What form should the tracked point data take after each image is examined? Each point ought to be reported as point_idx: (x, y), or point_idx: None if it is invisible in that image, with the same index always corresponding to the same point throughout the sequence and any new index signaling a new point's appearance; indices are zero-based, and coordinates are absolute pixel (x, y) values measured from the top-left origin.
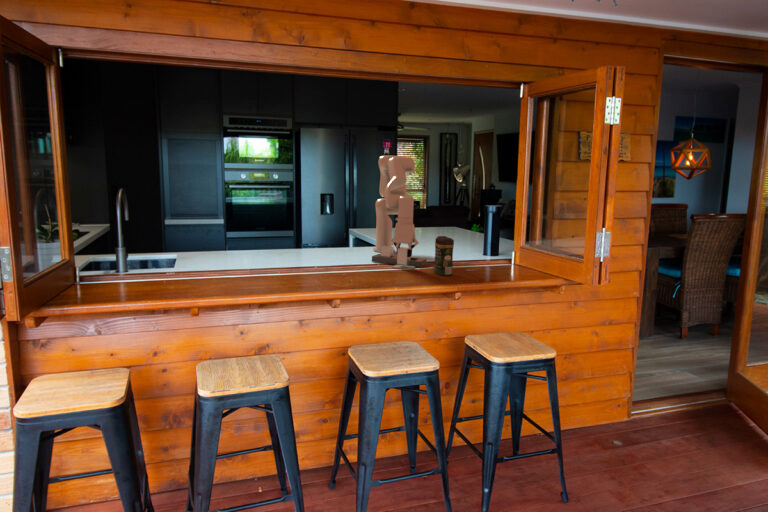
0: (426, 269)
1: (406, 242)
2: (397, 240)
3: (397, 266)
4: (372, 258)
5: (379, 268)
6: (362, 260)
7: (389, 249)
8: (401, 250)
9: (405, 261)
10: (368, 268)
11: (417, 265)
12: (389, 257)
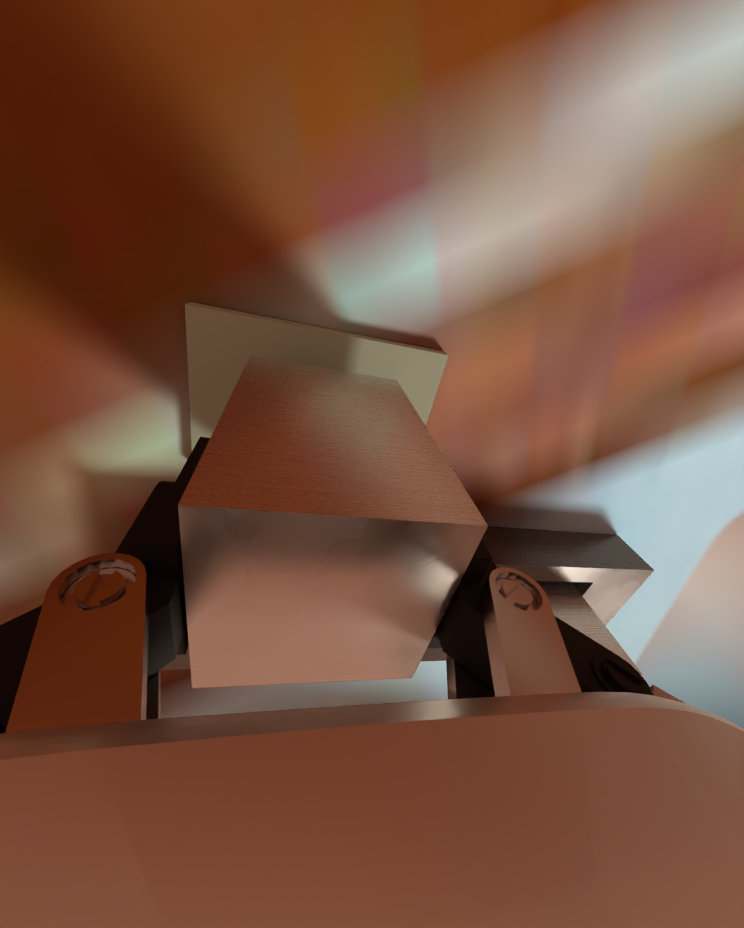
0: (25, 434)
1: (95, 815)
2: (706, 826)
3: None
4: (633, 554)
5: (591, 263)
6: (678, 543)
7: None
8: (369, 489)
9: (266, 376)
10: (730, 205)
11: None
12: None
